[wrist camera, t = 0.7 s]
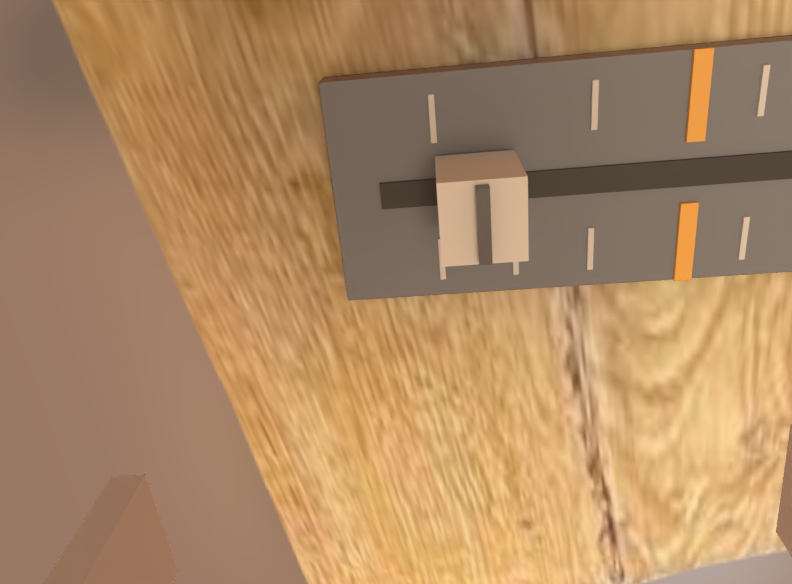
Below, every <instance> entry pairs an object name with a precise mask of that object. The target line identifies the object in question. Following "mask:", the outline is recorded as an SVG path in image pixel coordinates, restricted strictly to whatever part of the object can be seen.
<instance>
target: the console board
mask: <svg viewBox="0 0 792 584" xmlns="http://www.w3.org/2000/svg"><path fill="white" fill-rule="evenodd" d="M319 90H320V97H321V105H322V112H323V119H324V127H325V134H326V142H327V149H328V157H329V164H330V171H331V179H332V186H333V194H334V201H335V209H336V216H337V223H338V231H339V238H340V246H341V253H342V261H343V268H344V275H345V283H346V290H347V298H348V300H363V299H379V298H394V297H410V296H425V295H440V294H456V293H471V292H486V291H502V290H517V289H532V288H548V287H563V286H579V285H594V284H609V283H625V282H640V281H655V280H671V279H673V280H674V281H684V280H691V278H701V277H717V276H732V275H748V274H763V273H778V272H792V35H787V36H776V37H765V38H754V39H743V40H732V41H721V42H710V43H699V44H688V45H677V46H666V47H655V48H644V49H633V50H622V51H611V52H600V53H589V54H578V55H567V56H556V57H545V58H534V59H523V60H512V61H500V62H489V63H478V64H467V65H456V66H445V67H434V68H423V69H412V70H401V71H390V72H379V73H368V74H357V75H346V76H335V77H324V78H323V79H322V80H321V81H320V82H319ZM505 150H515V152H516V154H517V156H518V158H519V160H520V162H521V164H522V166H523V168H524V170H525V172H526V174H527V176H528V240H529V261H521V262H507V263H493V265H479V264H477V265H463V266H448V267H442V261H441V246H440V232H439V217H438V203H437V188H436V168H435V156H443V155H455V154H468V153H480V152H493V151H505Z"/></svg>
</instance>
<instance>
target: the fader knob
mask: <svg viewBox="0 0 792 584" xmlns="http://www.w3.org/2000/svg"><path fill="white" fill-rule="evenodd" d="M435 168H436V188H437V203H438V217H439V232H440V246H441V261H442V267H448V266H463V265H477V264H479V265H493V263H507V262H521V261H529V240H528V176H527V174H526V172H525V170H524V168H523V166H522V164H521V162H520V160H519V158H518V156H517V154H516V152H515V150H505V151H493V152H480V153H468V154H455V155H443V156H435Z"/></svg>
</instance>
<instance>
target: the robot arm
mask: <svg viewBox="0 0 792 584" xmlns="http://www.w3.org/2000/svg"><path fill="white" fill-rule="evenodd" d="M776 532H777V534H778V536H779V537H780V539H781V540H782V542H783V543H784V545H785V547H786V548H787V550H788V551H789V553H790V554H791V556H792V424H791V426H790V433H789V441H788V448H787V455H786V463H785V470H784V477H783V484H782V492H781V499H780V506H779V513H778V521H777V528H776ZM178 571H179V569H178V566H177V563H176V560H175V557H174V554H173V552H172V549H171V546H170V543H169V540H168V538H167V534H166V532H165V529H164V526H163V523H162V520H161V517H160V515H159V512H158V509H157V506H156V503H155V500H154V497H153V495H152V492H151V489H150V486H149V483H148V481H147V478H146V475H145V474H142V475H131V476H116V477H111V478H110V479H109V481H108V482H107V484H106V486H105V487H104V489H103V490H102V492H101V493H100V495H99V497H98V498H97V500H96V501H95V503H94V505H93V506H92V508H91V509H90V511H89V512H88V514H87V516H86V517H85V519H84V521H83V522H82V523H81V525H80V526H79V528H78V530H77V531H76V533H75V534H74V536H73V538H72V539H71V541H70V542H69V544H68V545H67V547H66V549H65V550H64V552H63V553H62V555H61V557H60V558H59V560H58V561H57V563H56V564H55V566H54V567H53V569H52V571H51V572H50V574H49V575H48V577H47V579H46V580H45V582H44V583H43V584H173V582H174V580H175V577H176V575H177V573H178Z"/></svg>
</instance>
